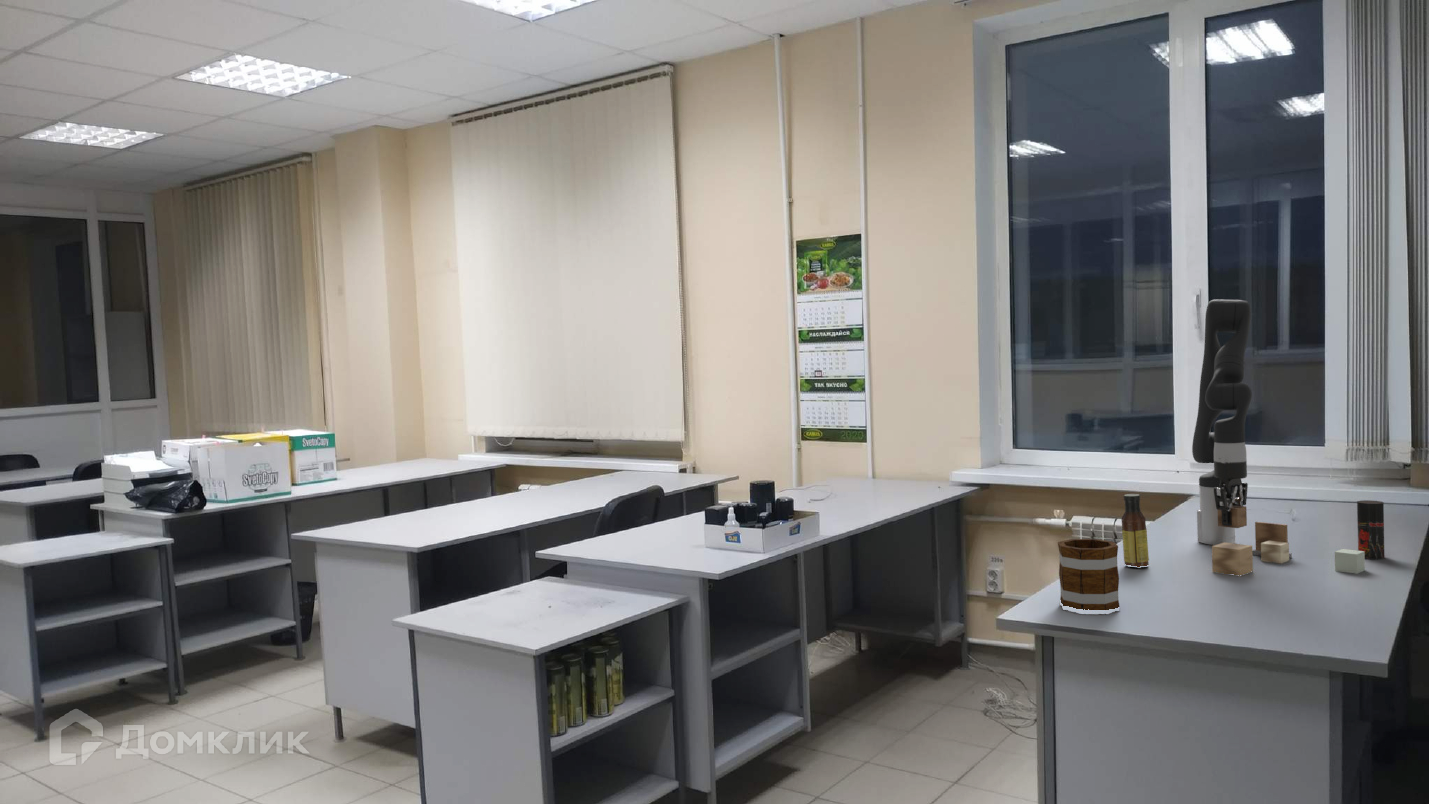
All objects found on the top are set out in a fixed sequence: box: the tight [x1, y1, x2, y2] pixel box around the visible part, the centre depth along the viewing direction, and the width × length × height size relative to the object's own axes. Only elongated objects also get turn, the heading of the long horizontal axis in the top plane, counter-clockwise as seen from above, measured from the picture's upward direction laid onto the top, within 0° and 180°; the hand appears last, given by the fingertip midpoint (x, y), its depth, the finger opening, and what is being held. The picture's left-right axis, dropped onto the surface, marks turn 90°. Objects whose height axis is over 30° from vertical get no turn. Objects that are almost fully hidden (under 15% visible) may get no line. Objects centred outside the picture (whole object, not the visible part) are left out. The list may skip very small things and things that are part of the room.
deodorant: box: [1356, 499, 1386, 560], centre depth 258 cm, size 6×6×15 cm
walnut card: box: [1252, 521, 1292, 559], centre depth 265 cm, size 9×3×9 cm, turn 37°
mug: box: [1057, 538, 1120, 610], centre depth 224 cm, size 20×14×15 cm
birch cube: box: [1260, 540, 1290, 564], centre depth 259 cm, size 5×5×5 cm
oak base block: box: [1211, 542, 1254, 577], centre depth 249 cm, size 7×7×7 cm
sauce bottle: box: [1121, 493, 1150, 567], centre depth 260 cm, size 6×6×20 cm
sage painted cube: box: [1334, 548, 1366, 574], centre depth 245 cm, size 5×5×5 cm
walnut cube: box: [1218, 505, 1248, 529], centre depth 248 cm, size 5×5×5 cm
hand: (1231, 524), depth 249 cm, fingers closed on walnut cube, 5 cm apart
